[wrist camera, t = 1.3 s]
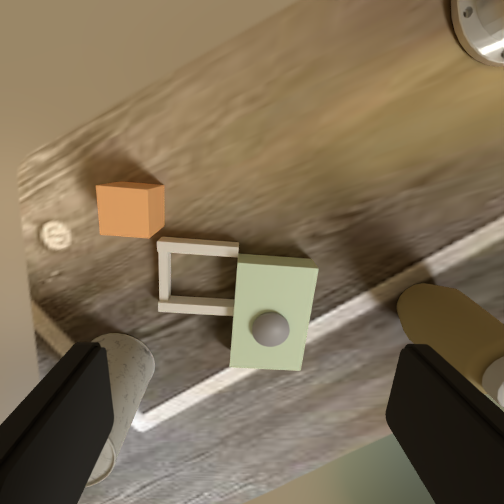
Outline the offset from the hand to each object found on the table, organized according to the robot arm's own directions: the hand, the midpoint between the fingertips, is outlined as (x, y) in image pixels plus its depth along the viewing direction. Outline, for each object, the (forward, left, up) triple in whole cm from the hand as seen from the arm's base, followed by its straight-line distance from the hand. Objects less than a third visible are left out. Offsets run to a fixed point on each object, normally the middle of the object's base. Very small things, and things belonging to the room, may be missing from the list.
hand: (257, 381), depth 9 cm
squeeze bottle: (+9, +23, -24) cm, 35 cm away
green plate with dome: (+10, -1, -24) cm, 26 cm away
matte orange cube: (-1, -12, -24) cm, 27 cm away
